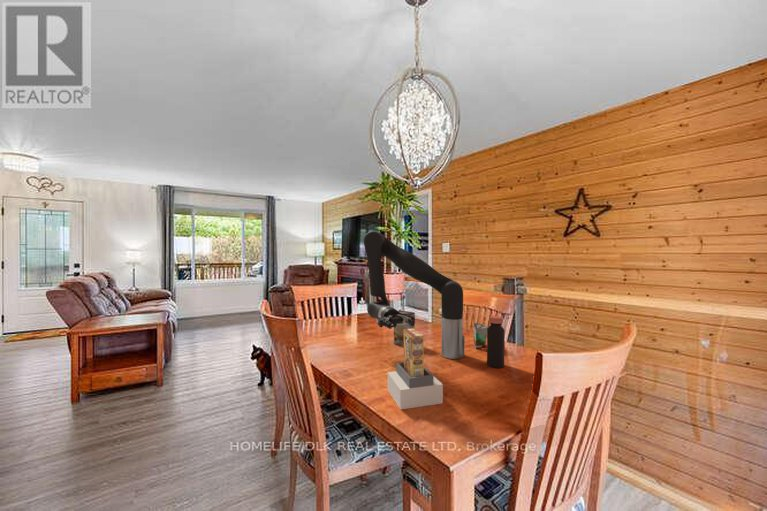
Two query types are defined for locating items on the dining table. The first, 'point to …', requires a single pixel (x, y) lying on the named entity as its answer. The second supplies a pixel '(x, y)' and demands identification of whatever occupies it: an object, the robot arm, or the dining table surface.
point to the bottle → (495, 343)
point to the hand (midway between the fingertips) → (401, 325)
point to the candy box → (413, 353)
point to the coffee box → (402, 329)
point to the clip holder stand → (414, 388)
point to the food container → (480, 335)
